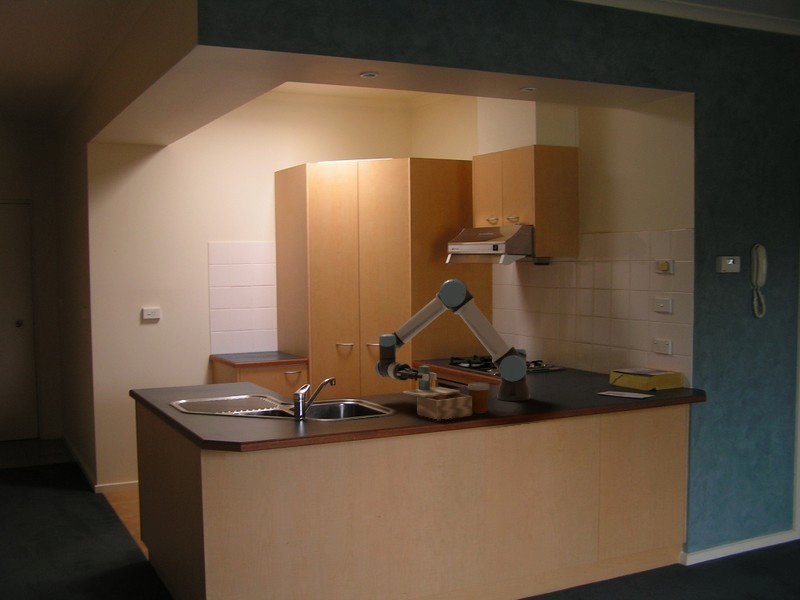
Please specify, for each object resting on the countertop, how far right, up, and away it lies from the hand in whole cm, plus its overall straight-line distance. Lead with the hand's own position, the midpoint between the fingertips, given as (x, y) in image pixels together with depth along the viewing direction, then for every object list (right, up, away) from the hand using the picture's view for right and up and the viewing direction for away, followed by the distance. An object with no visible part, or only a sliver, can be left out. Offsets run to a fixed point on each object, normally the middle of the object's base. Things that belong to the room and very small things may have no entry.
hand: (431, 377), depth 359 cm
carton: (+5, -15, -6) cm, 17 cm away
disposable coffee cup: (+20, -15, +1) cm, 25 cm away
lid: (0, -7, +1) cm, 7 cm away
